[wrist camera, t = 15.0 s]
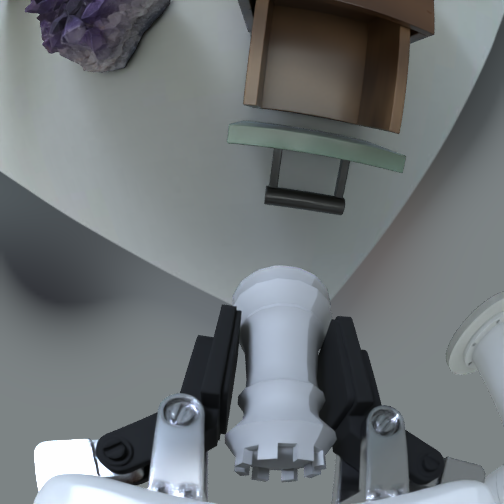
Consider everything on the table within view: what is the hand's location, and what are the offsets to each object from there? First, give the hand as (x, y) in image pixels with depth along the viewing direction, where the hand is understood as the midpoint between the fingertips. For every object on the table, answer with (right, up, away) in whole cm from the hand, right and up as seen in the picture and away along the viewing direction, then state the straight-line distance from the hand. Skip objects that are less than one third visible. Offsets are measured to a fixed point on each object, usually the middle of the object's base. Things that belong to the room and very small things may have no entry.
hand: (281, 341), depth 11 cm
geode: (-18, +30, +7) cm, 36 cm away
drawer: (+4, +17, +11) cm, 21 cm away
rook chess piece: (0, +1, +3) cm, 3 cm away
